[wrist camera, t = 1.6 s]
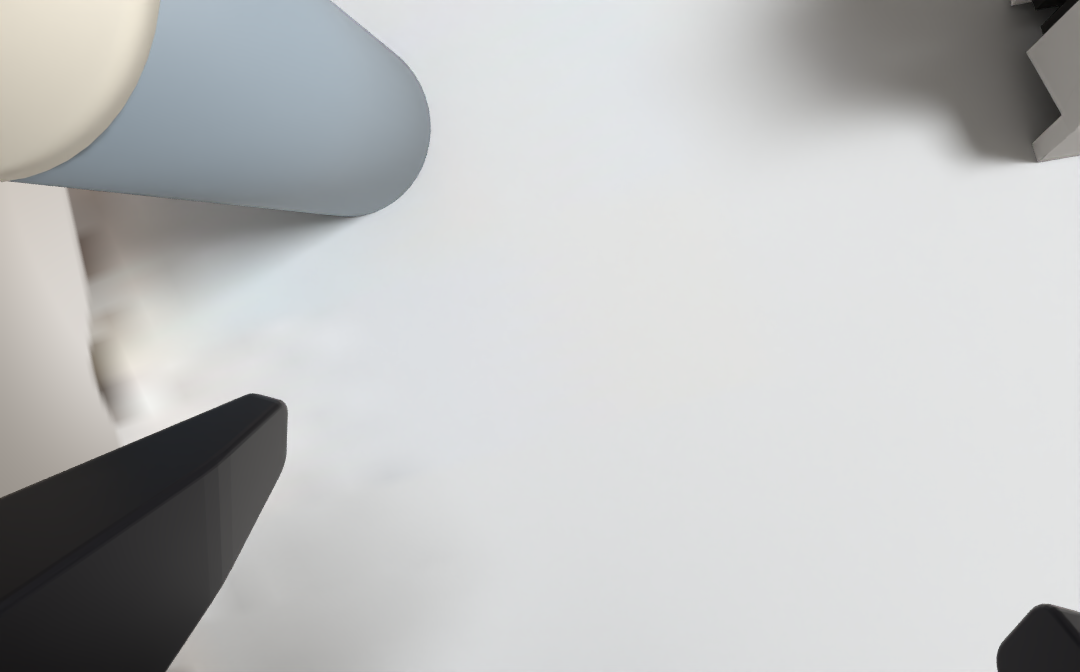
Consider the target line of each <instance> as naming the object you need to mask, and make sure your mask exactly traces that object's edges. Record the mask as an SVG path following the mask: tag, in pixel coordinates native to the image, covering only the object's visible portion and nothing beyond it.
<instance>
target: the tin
mask: <svg viewBox="0 0 1080 672" xmlns="http://www.w3.org/2000/svg"><path fill="white" fill-rule="evenodd" d="M429 142H430V115H429V108H428V104H427V101H426V97H425V94H424V92H423V90H422V87H421V85H420V83H419V81H418V80H417V78H416V76H415V75H414V73H413V72H412V71H411V69H410V68H409V67H408V65H407V64H406V63H405V62H404V61H403V60H402V59H401V58H400V57H399V56H397V55H396V54H395V53H394V52H393V51H391V50H390V49H389V48H388V47H387V46H385V45H384V44H383V43H382V42H380V41H379V40H378V39H377V38H376V37H374V36H373V35H372V34H371V33H370V32H368V31H367V30H366V29H365V28H363V27H362V26H361V25H360V24H359V23H357V22H356V21H355V20H354V19H353V18H351V17H350V16H349V15H348V14H346V13H345V12H344V11H343V10H342V9H340V8H339V7H338V6H337V5H336V4H334V3H333V2H332V1H331V0H0V182H4V181H11V182H21V183H29V184H39V185H48V186H58V187H67V188H77V189H86V190H96V191H105V192H115V193H124V194H134V195H143V196H153V197H162V198H172V199H182V200H191V201H201V202H210V203H220V204H229V205H239V206H248V207H258V208H267V209H277V210H286V211H296V212H305V213H315V214H324V215H334V216H343V217H345V216H360V215H366V214H369V213H373V212H376V211H378V210H380V209H383V208H385V207H386V206H388V205H390V204H391V203H393V202H394V201H396V200H397V199H398V198H399V197H400V196H402V195H403V194H404V193H405V192H406V191H407V189H408V188H409V187H410V186H411V185H412V183H413V182H414V180H415V179H416V178H417V176H418V174H419V172H420V170H421V168H422V166H423V164H424V161H425V158H426V156H427V151H428V147H429Z"/></svg>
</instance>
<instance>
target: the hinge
mask: <svg viewBox="0 0 1080 672" xmlns="http://www.w3.org/2000/svg"><path fill="white" fill-rule="evenodd" d="M1029 2H1033V5H1034V8H1035V10H1039V9H1044V8H1049V7H1054V6H1059V5H1062V6H1061V7H1060V8H1059V9H1058V10H1057V11H1056V12H1055V13H1054V14H1053V15H1052V16H1051V17H1050V18H1049V19H1048V20H1047V21H1046V22H1045V23H1044V24H1043V25H1042V26H1041V29H1042V33H1043V36H1042V37H1041V38H1040V39H1039V40H1038V41H1037V42H1036V43H1035V44H1034V45H1033V46H1032V47H1031V48H1030V49H1029V50H1028V51H1027V52H1026V53H1027V55H1028V56H1029V58H1030V60H1031V62H1032V63H1033V65H1034V67H1035V69H1036V71H1037V72H1038V74H1039V76H1040V78H1041V79H1042V81H1043V83H1044V85H1045V86H1046V88H1047V90H1048V92H1049V93H1050V95H1051V97H1052V99H1053V100H1054V102H1055V104H1056V106H1057V107H1058V109H1059V111H1060V113H1061V116H1060V117H1059V118H1058V119H1057V120H1056V121H1055V122H1054V123H1053V124H1052V125H1051V126H1050V127H1049V128H1048V129H1047V130H1045V131H1044V132H1043V133H1042V134H1041V135H1040V136H1039V137H1038V138H1037V139H1036V140H1035V141H1034V142H1033V143H1032V146H1033V150H1034V153H1035V156H1036V159H1037V161H1038V162H1043V161H1048V160H1054V159H1060V158H1066V157H1072V156H1078V155H1080V0H1011V5H1018V4H1024V3H1029Z"/></svg>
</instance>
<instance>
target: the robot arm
mask: <svg viewBox="0 0 1080 672" xmlns="http://www.w3.org/2000/svg"><path fill="white" fill-rule="evenodd" d="M287 419H288V410H287V406H286V404H285V403H284V402H283V401H281V400H279V399H275V398H271V397H268V396H264V395H260V394H254V393H252V394H247V395H244V396H242V397H240V398H237V399H235V400H232V401H230V402H228V403H225V404H223V405H221V406H218V407H216V408H213V409H211V410H209V411H206V412H204V413H202V414H199V415H197V416H194V417H192V418H190V419H187V420H185V421H182V422H180V423H178V424H175V425H173V426H171V427H168V428H166V429H163V430H161V431H159V432H156V433H154V434H152V435H149V436H147V437H144V438H142V439H140V440H137V441H135V442H133V443H130V444H128V445H125V446H123V447H121V448H118V449H116V450H114V451H111V452H109V453H106V454H104V455H102V456H99V457H97V458H95V459H92V460H90V461H87V462H85V463H83V464H80V465H78V466H75V467H73V468H71V469H68V470H66V471H63V472H61V473H59V474H56V475H54V476H52V477H49V478H47V479H44V480H42V481H40V482H37V483H35V484H33V485H30V486H28V487H25V488H23V489H21V490H18V491H16V492H14V493H11V494H9V495H6V496H4V497H2V498H0V672H166V671H167V669H168V668H169V666H170V665H171V663H172V662H173V660H174V659H175V657H176V656H177V654H178V653H179V651H180V650H181V648H182V647H183V645H184V644H185V642H186V641H187V639H188V638H189V636H190V635H191V633H192V632H193V630H194V628H195V627H196V625H197V624H198V622H199V621H200V619H201V618H202V616H203V615H204V613H205V612H206V610H207V609H208V607H209V606H210V604H211V603H212V601H213V600H214V598H215V596H216V595H217V593H218V592H219V590H220V588H221V587H222V585H223V584H224V582H225V580H226V578H227V576H228V574H229V573H230V571H231V569H232V567H233V565H234V563H235V561H236V559H237V557H238V555H239V553H240V552H241V550H242V548H243V546H244V544H245V542H246V540H247V538H248V536H249V534H250V532H251V530H252V528H253V526H254V524H255V523H256V521H257V519H258V517H259V515H260V513H261V511H262V509H263V507H264V505H265V503H266V501H267V499H268V497H269V495H270V493H271V492H272V490H273V488H274V486H275V484H276V482H277V480H278V478H279V476H280V474H281V472H282V469H283V467H284V463H285V459H286V452H287ZM997 670H998V672H1080V613H1079V612H1077V611H1074V610H1070V609H1066V608H1063V607H1059V606H1055V605H1051V604H1040V605H1038V606H1035V607H1034V608H1033V609H1031V610H1030V612H1029V613H1028V614H1027V615H1026V616H1025V617H1024V618H1023V619H1022V621H1021V622H1020V623H1019V624H1018V625H1017V626H1016V627H1015V628H1014V630H1013V631H1012V632H1011V633H1010V634H1009V635H1008V636H1007V637H1006V638H1005V640H1004V641H1003V642H1002V643H1001V645H1000V647H999V649H998V653H997Z"/></svg>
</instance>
